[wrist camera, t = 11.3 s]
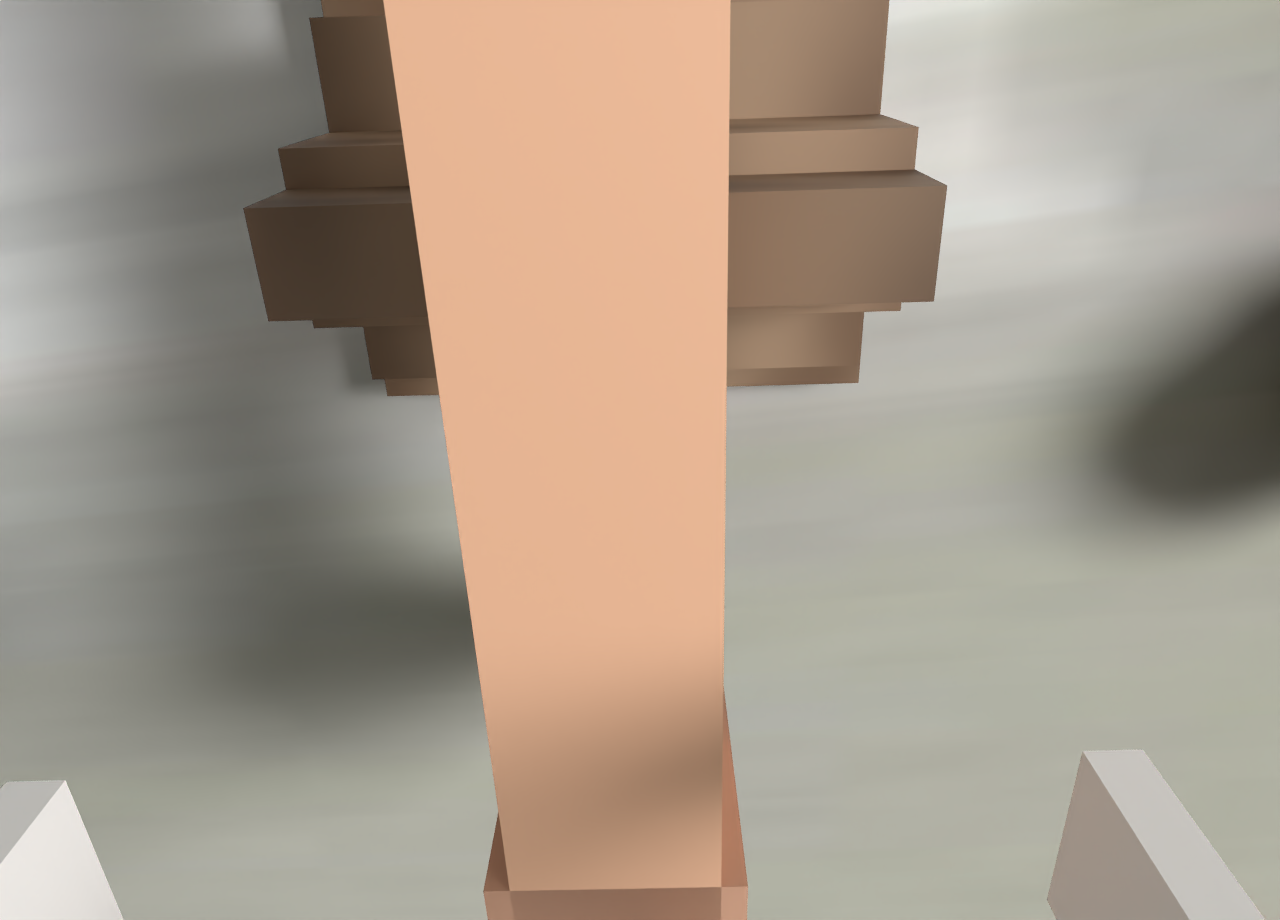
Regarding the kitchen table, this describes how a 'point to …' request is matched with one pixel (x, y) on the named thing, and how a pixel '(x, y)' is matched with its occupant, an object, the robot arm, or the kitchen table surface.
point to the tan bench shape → (586, 430)
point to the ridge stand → (757, 203)
